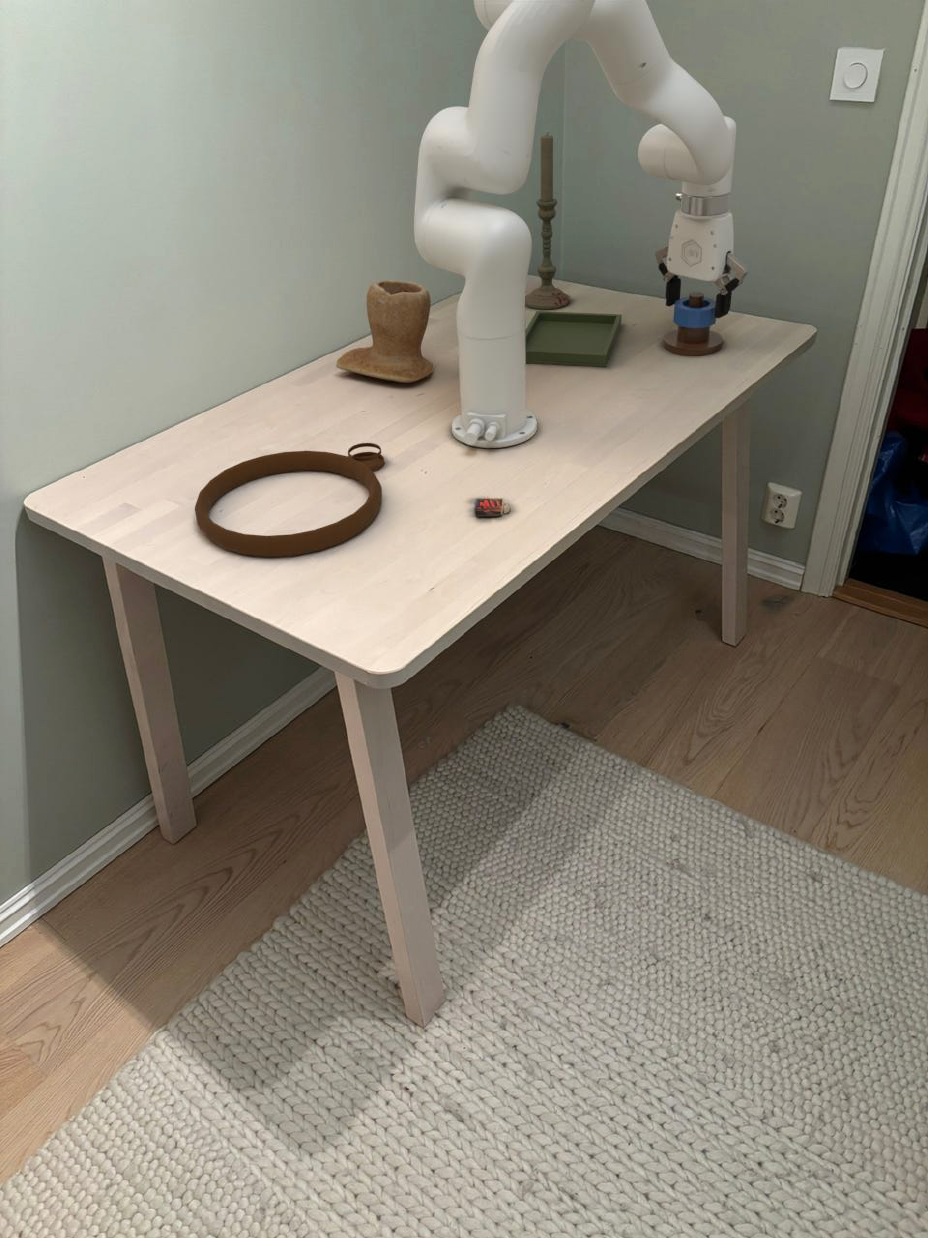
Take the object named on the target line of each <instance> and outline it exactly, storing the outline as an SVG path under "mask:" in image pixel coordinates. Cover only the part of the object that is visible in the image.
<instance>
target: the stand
mask: <svg viewBox="0 0 928 1238" xmlns="http://www.w3.org/2000/svg"><path fill="white" fill-rule="evenodd" d="M688 297H689V307H690V308H703V303H704V297H705V293H703V292H700V291H699V292H698V291H695V292H694V291H693V292H690V293H689V296H688ZM723 343H724V337H723V336H722V335H721V334H720V333H718V332H716V331H714V330H711V326H709V327H704V328H686V327H682V326H678V325H677V328H676V329H672V330H671V331H668V332H666V333H665V334H664V335H663V338H662V346H663V348H664V349H665V350H667V351H668V352H670V353H672V354H676V355H682V356H688V357H689V356H690V357H697V356H698V357H699V356H707V355H712V354H714V353H717V352H719V351H721V350H722V348H723Z"/></svg>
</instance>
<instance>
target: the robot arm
mask: <svg viewBox="0 0 928 1238" xmlns="http://www.w3.org/2000/svg"><path fill="white" fill-rule="evenodd" d="M473 6H474V7H473V8H474V12H475V13H476V14H475V15H476V17H477V18H478V20H479V23H481V24H482V26H483V27H484V28H485V29H486V30H487V31H488V32H487V34H486V36H485V37H484V39H483V41H482V43H481V45H480V47H479V50H478V53H477V55H476V59H475V63H474V68H473V75H472V80H471V81H472V82H471V89H470V95H469V103H468V107H466V106H459V105H457V106H449V107H446V108H443V109H442V110H440V111H438V112H437V113H436V114H435V115H433V117H432V118H431V119H430V121H428V123H427V126H426V128H425V129H424V132H423V135H422V138H421V140H420V144H419V150H418V159H417V171H416V186H415V197H414V199H415V200H414V213H413V235H414V236H413V237H414V243H415V246H416V249H417V252H418V253H419V255H420V256H421V258H422V259H423V260H424V261H425V262H426V263H427V264H429V265H431V266H433V267H435V268H438V269H442V270H444V271H446V272H449V273H450V272H451V273H453V274H457V275H459V276H462V277H464V280H465V283H464V286H463V290H462V292H461V294H460V296H459V299H458V302H457V305H456V313H455V316H456V317H455V318H456V320H455V322H456V323H455V324H456V336H457V337H456V339H457V354H458V372H459V391H460V392H459V395H460V410H461V411H460V414H458V415H457V416H456V417H455V418H454V419H453V420H452V422H451V433H452V436H453V437H454V438H455V439H456V440H457V441H459V442H461V443H462V444H465V445H467V446H471V447H477V448H485V449H499V448H508V447H512V446H516V445H519V444H522V443H525V442H526V441H528V440H530V439H531V438H532V437H533V436H534V435H535V434H536V432H537V430H538V420H537V418H536V417H535V416H534V414H532V413H531V412H530V411H528V410H527V363H526V349H525V330H526V305H525V296H526V289H527V281H528V274H529V268H530V263H531V258H532V250H533V240H532V234H531V232H530V231H531V230H530V229H529V227H528V225H527V223H526V222H525V221H524V219H523V218H522V217H521V216H519V215H518V214H517V213H516V212H514V211H512V210H510V209H508V208H505V207H503V206H500V205H495V204H491V203H487V202H482V201H477V200H473V196H474V191H476V192H483V193H488V194H492V195H493V194H494V195H510V194H513V193H516V192H517V191H519V190H520V189H521V188H522V187H523V185H524V184H525V183H526V180H527V178H528V174H529V171H530V166H531V162H532V155H533V147H534V139H535V130H536V123H537V114H538V107H539V98H540V93H541V87H542V81H543V78H544V74H545V71H546V69H547V67H548V65H549V63H550V61H551V60H552V58H553V56H554V55H555V54H556V52H557V51H558V50H559V48H560V47H561V46H562V45H563V44H564V43H565V42H566V41H567V40H569V41H581V42H582V41H583V42H585V43H587V44H588V45H589V46H590V48H591V50H592V52H593V54H594V55H595V57H596V59H597V62H598V64H599V65H600V68H601V69H602V71H603V73H604V75H605V78H606V79H607V81H608V83H609V86H610V88H611V90H612V92H613V93H614V95H615V96H616V98H617V99H618V100H619V101H621V102H622V103H623V104H625V105H626V106H628V107H629V108H631V109H632V110H634V111H635V112H638V113H640V114H641V115H642V116H646V117H648V118H650V119H652V120H654V121H656V122H658V123H659V124H657V125H655V126H653V127H651V128H649V129H648V130H647V131H646V132H645V133H644V135H642V138H641V140H640V142H639V144H638V148H637V158H638V162H639V165H640V167H641V168H642V170H644V171H645V172H646V173H647V174H648V175H651V176H652V177H656V178H660V179H666V180H670V181H671V180H672V181H679V182H681V183H682V184H681V191H677V192H676V194H675V200H676V201H679V202H680V209H676V211H675V213H674V217H673V221H672V224H671V229H670V234H669V240H668V246H665V247H663V248H661V249H659V250H656V251H655V252H654V256H655V259H656V262H657V264H658V270H659V272H660V273H661V275H662V278H663V281H664V282H665V283H666V284H665V306H666V307H668V308H669V307H671V306H674V304H675V301H676V300H679V299H681V289H682V278H685V279H690V280H694V281H695V280H696V281H699V282H700V281H701V282H705V283H714V284H715V286H716V288H717V290H718V291H719V293H717V294H716V297H715V301H716V306H715V318H716V319H721V318H722V317H725V316H726V315H728V314H729V313H730V310H731V305H732V296H733V295H732V293H733V291H735V290H736V288H738V287H739V286H741V285H742V283H743V281H744V280H745V278H746V276H747V275H748V274H749V272H750V268H749V267H748V266H747V265H746V264H745V263H743V261H741V260H740V259H739V258H738V257H736V256H735V255H734V246H735V242H734V241H735V239H734V237H735V234H734V232H735V231H734V220H733V213H732V212H730V205H731V204H730V202H731V193H732V184H733V183H732V181H733V172H734V160H735V152H736V151H735V149H736V141H737V140H736V139H737V124H736V122H735V120H734V119H733V118H731V117H730V116H726V115H724V114H723V112H722V110H721V108H720V106H719V104H718V102H717V101H716V100H715V99H714V97H713V96H712V95H711V93H709V91H708V90H706V88H704V87H703V85H701V84H700V83H699V82H698V81H697V80H696V79H695V78H694V77H693V76H692V75H691V74H690V73H688V72H687V71H686V69H685V68H683V67H682V66H681V65H680V64H678V63H677V62H676V61H674V59H672V57H671V56H670V53H669V52H668V49H667V47H666V45H665V42H664V40H663V38H662V36H661V34H660V32H659V29H658V27H657V25H656V24H657V23H656V21H655V20H654V18H653V15H652V12H651V9H650V8H649V6H648V3H647V0H473ZM732 270H733V272H735V274H734V277H733V278H732V276H731V272H732ZM679 277H681V278H679Z"/></svg>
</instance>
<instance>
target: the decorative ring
mask: <svg viewBox="0 0 928 1238" xmlns="http://www.w3.org/2000/svg"><path fill="white" fill-rule="evenodd" d="M367 447H369V448H375V449H378V450H379V451H378V452H375V451H362V452H357V453H355V454H353V455H352V454H350V453H351V452H352V451H354V450H356V449H359V448H367ZM385 464H386V461H385V457H384V456H383V455H382V448H381V446H380V445H378V444H377V443H374V442H373V443H372V442H361V443H356V444H354V445H352V446H351V447H349V448H348V450H347V455H343V454H339V453H335V452H330V451H319V450H295V451H283V452H282V451H281V452H277V453H271V454H266V455H262V456H258V457H255V458H252V459H251V458H250V459H248V460H244V461H242V462H240V463H237V464H235V465H233V466H231V467H229V468H226V469H224V470H222V471H221V472H220V473H218V474H217V475H216V476H214V477H213V478H211V479H210V480H209V481H208V482H207V484H205V486H204V487H203V488H202V489H201V490H200V492H199V494H198V497H197V499H196V502H195V505H194V513H195V518H196V523H197V526H198V529H200V531H201V532H202V533H203V534H204V535H205V537H207V539H208V540H209V541H210V542H212V543H213V544H215V545H217V546H219V547H220V548H223V549H225V550H227V551H230V552H234V553H238V554H240V555H241V554H242V555H245V556H254V557H264V558H265V557H266V558H277V557H292V556H299V555H305V554H309V553H315V552H319V551H323V550H325V549H328V548H331V547H333V546H336V545H340V544H342V543H343V542H345V541H348V540H349V539H351V538H353V537H354V536H357V535H358V534H359V533H361V532H362V531H363V530H364V529H365V528H367V526H369V525H370V524H371V523H372V522H373V521H374V519H375V517H376V516H377V514H378V513H379V511H380V508H381V505H382V497H383V495H382V494H383V492H382V491H383V489H382V485H381V483H380V480H379V479H378V476H376V473H375V472H376V471H379V470H381V469H382V468H384V466H385ZM297 471H317V472H319V471H320V472H330V473H335V474H339V475H342V477H343V478H348V479H354V480H357V481H358V482H360V483H361V484H362V485H364V486H365V487H366V488H367V489H368V491H369V496H368V497H367V498H366V501H365V502H364V503H363V504H362V505H361V506H360V507H359V508H358V509H357V510H355V512H353V513H350V514H349V515H347V516H345V517H344V518H342V519H340V520H338V521H336V522H334V523H331V524H327V525H325V526H321V527H318V528H316V529H311V530H307V531H302V532H295V533H291V534H275V535H260V534H249V533H242V532H238V531H234V530H230V529H226V528H225V527H223V526H221V525H219V524H217V523H215V522H214V521H213V520H212V519H211V518H210V515H209V513H210V509H211V507H212V506H213V505H214V504H215V502H216V501H217V500H218V499H219V498H221V497H222V496H223V495H225V494H226V493H227V492H229V491H230V490H232V489H234V488H237V487H239V486H240V485H242V484H244V483H247V482H249V481H252V480H256V479H258V478H262V477H265V476H270V475H275V474H281V473H286V472H297Z"/></svg>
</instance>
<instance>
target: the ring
mask: <svg viewBox="0 0 928 1238" xmlns="http://www.w3.org/2000/svg"><path fill="white" fill-rule="evenodd" d="M715 306H716V299H715V300H714V298H710V297H706V296H704V303H703V308H690V307H689V296H685V297H680V299H679V300H676V301H675V304H674V305H673V318H672V322H673V323H674V324H675V325H676V326H677V327H678V326H682V327H686V328H704V327H709V326H710V327H712V326H714V325H715V324H716V322H717V318H715Z"/></svg>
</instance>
